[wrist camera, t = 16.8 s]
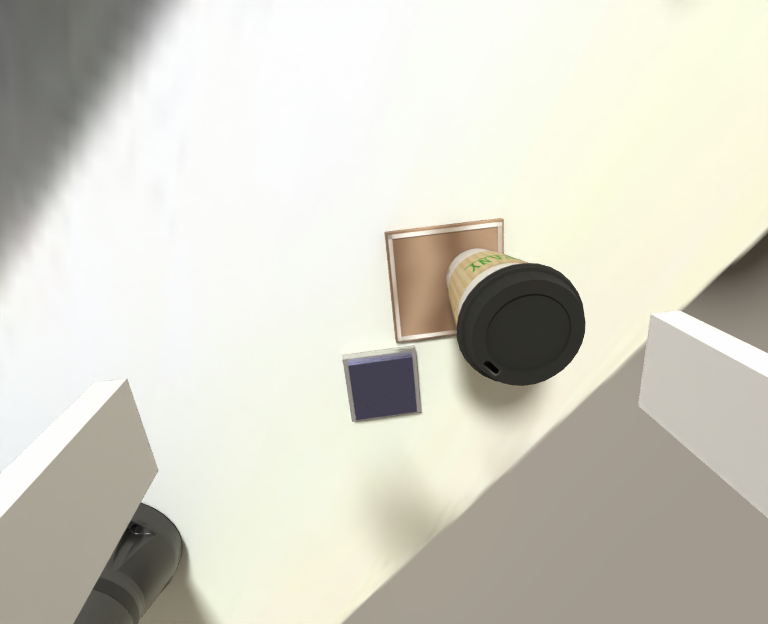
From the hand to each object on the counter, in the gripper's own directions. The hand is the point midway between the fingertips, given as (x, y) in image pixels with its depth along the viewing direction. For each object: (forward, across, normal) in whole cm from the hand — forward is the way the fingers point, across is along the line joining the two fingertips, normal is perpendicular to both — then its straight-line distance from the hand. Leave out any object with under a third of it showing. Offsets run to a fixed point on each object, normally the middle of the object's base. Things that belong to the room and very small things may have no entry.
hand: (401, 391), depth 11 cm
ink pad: (+35, +1, -20) cm, 40 cm away
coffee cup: (+34, +12, -8) cm, 37 cm away
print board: (+35, +9, -8) cm, 37 cm away
